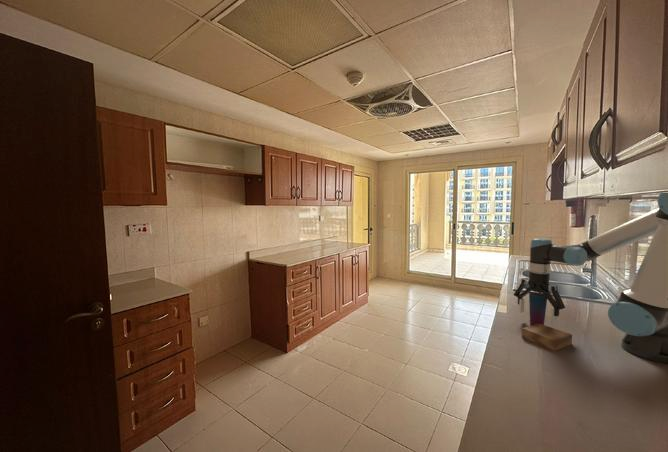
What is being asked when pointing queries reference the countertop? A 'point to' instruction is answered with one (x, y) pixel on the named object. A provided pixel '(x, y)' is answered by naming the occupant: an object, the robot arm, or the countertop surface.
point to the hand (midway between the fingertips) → (536, 317)
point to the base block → (547, 336)
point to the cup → (537, 308)
